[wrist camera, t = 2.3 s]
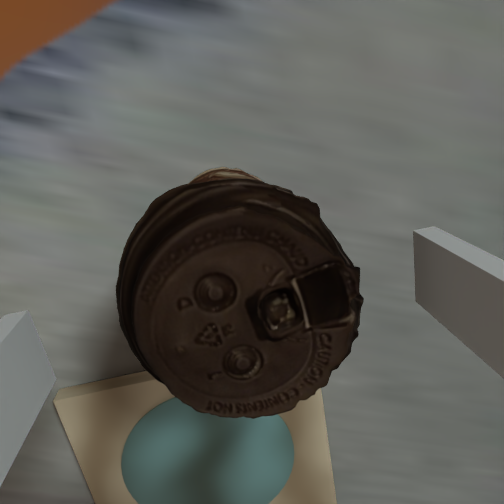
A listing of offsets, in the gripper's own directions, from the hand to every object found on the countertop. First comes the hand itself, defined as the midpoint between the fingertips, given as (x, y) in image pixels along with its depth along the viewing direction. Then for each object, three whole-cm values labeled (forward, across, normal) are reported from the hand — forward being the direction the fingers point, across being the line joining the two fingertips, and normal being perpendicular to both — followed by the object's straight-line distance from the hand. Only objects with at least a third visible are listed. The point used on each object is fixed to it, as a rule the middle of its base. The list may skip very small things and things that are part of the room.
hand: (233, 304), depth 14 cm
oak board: (+11, +4, +17) cm, 20 cm away
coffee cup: (+12, 0, 0) cm, 12 cm away
